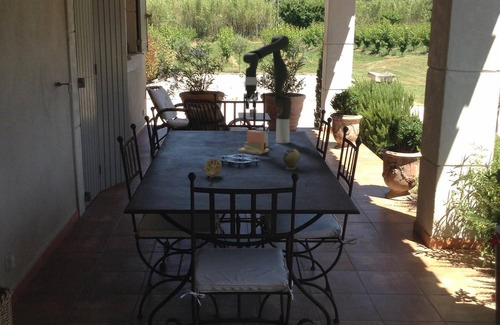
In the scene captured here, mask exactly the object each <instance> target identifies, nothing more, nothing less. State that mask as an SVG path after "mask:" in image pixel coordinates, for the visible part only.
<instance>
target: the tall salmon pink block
mask: <svg viewBox="0 0 500 325" xmlns="http://www.w3.org/2000/svg"><path fill="white" fill-rule="evenodd" d="M262 131H263V130H255V131H253V129H251V130H250V129H249V130H246V133H247V134H246V142H248V143H256V144H261V151H262V150H264V132H262Z"/></svg>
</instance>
